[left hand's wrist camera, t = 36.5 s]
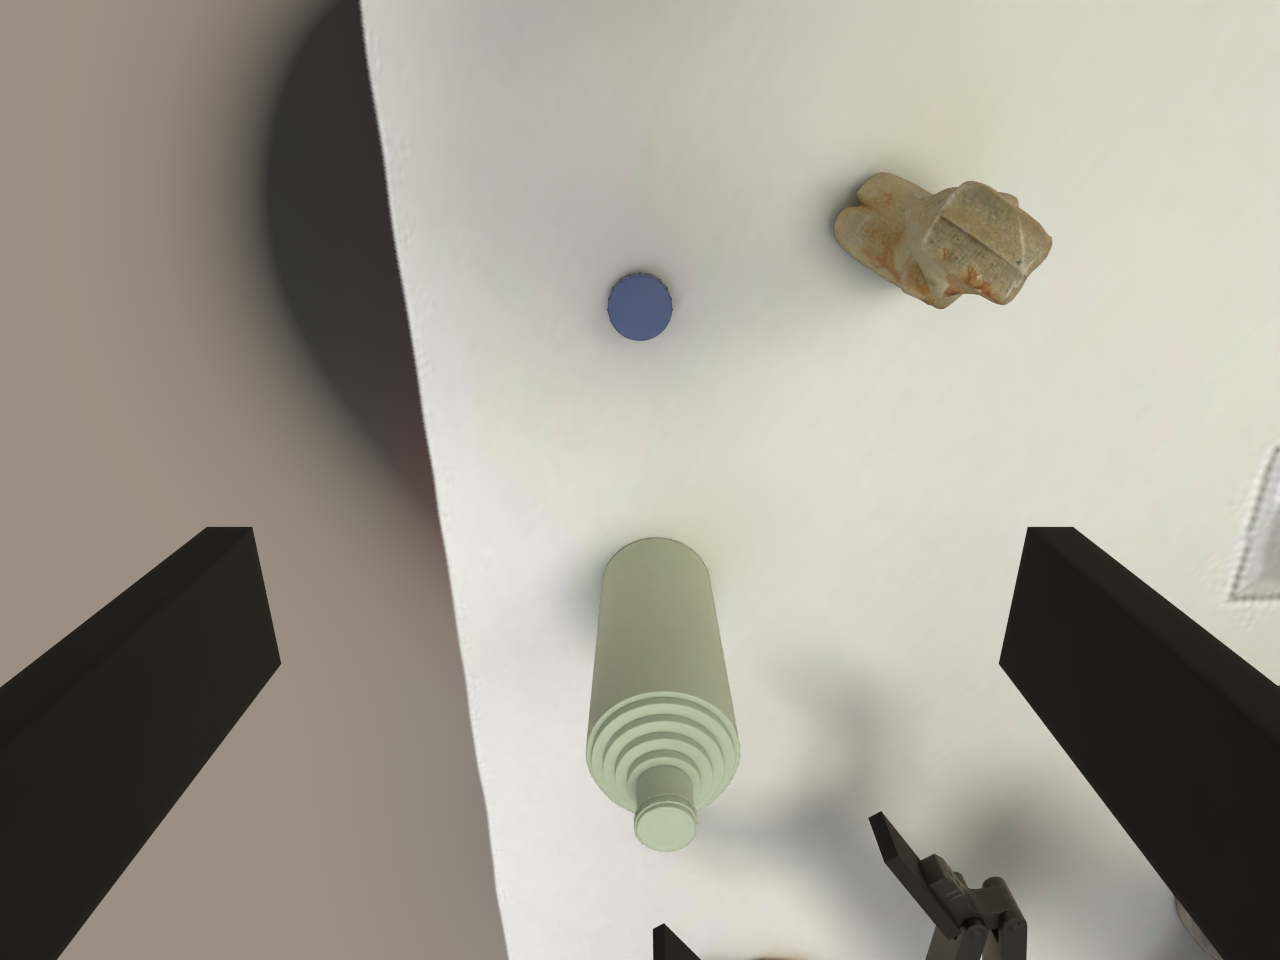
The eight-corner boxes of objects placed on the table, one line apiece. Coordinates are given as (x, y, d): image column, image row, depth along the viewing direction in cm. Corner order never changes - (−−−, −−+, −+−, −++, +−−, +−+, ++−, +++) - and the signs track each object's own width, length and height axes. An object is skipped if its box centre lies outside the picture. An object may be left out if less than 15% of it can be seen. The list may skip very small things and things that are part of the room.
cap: (638, 349, 46) (638, 355, 45) (594, 303, 45) (593, 306, 44) (684, 306, 45) (686, 311, 44) (641, 258, 44) (641, 260, 43)
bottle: (668, 517, 51) (687, 731, 31) (731, 596, 53) (787, 844, 33) (579, 576, 52) (542, 816, 32) (644, 650, 55) (647, 917, 35)
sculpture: (881, 152, 42) (1000, 133, 28) (969, 232, 44) (1124, 252, 30) (812, 238, 44) (893, 260, 30) (900, 312, 45) (1015, 366, 31)
